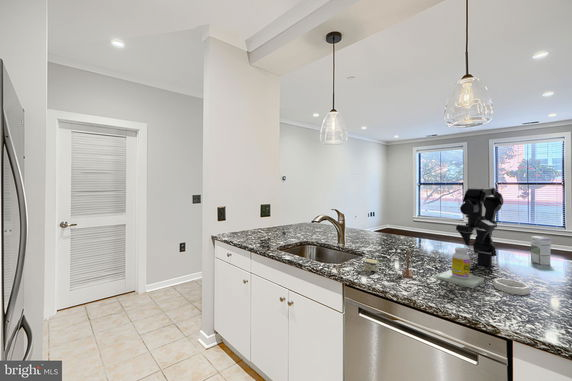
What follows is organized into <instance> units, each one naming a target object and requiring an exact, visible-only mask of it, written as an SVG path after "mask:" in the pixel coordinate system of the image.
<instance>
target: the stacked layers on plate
mask: <svg viewBox="0 0 572 381" xmlns="http://www.w3.org/2000/svg"><path fill="white" fill-rule="evenodd" d="M378 262H379V260H377V259H371V258H364V262H363V264H364V265H363V268H364V269H363V270H364V271H366V272H369V273H371V272H374V273H377V272H378V269H379V267H378V265H379V263H378Z"/></svg>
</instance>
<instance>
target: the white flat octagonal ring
mask: <svg viewBox="0 0 572 381" xmlns="http://www.w3.org/2000/svg"><path fill="white" fill-rule="evenodd" d="M492 285H493V287H494V288H495V289H496V290H499V291H502V292H505V293H507V294H514V295H520V296H525V295H529V294H531V287H530V286H529V285H528V284H527V283H525V282H522V281H519V280H516V279H512V278H511V279H510V278H502V277H500V278H499V277H498V278H493V282H492Z"/></svg>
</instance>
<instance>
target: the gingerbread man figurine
mask: <svg viewBox="0 0 572 381" xmlns="http://www.w3.org/2000/svg"><path fill="white" fill-rule="evenodd" d="M402 275H403V278H404V279H410V280H411V279H414V276H413V271H412V270H410V250H409V249H407V250H406V269H403V270H402Z"/></svg>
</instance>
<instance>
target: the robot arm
mask: <svg viewBox="0 0 572 381" xmlns="http://www.w3.org/2000/svg"><path fill="white" fill-rule="evenodd" d="M462 202H463V203H462V204H461V205H460V207H459V210H460V212H461V213H462V214H464V215H465V218H467V222H466V223H465V224H457V225H456V226H455V231H456V232H458V233H459V235H460V236H461V238H462V239H463V241H464V243H465V245H466V246H468V247H469V246H470V244H471V243H470V242H471V236H472V235H473V234H474V230H475V232H476V236H475V238H474V241H473V243H472V248H473V253H474V254H477V258H476V259H477V261H476V262H474V265H476V266H480V267H484V268H488V269H489V268H494V267H495V264H494V265H493V264H492V263H493V262H492V261H493V260H492V259H493V258H492V257H497V249H496V246H495V243H494V241H493V238H492V235H493V231H494V230H495V229H496V228H498V222H497V220H496V215H497V212H499V211H500V210H501V209H502V206H503V205H504V197H503V195H502V194H501V193H500V192H498V191H497V188H495V187H489V186H488V187H487V186H486V187H482V188H475V187H474V188H471V187H469V188H468V189H467V190H466V191H465V194H464V197H463V200H462ZM483 207H484V209H485V211H484V215H483Z"/></svg>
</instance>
